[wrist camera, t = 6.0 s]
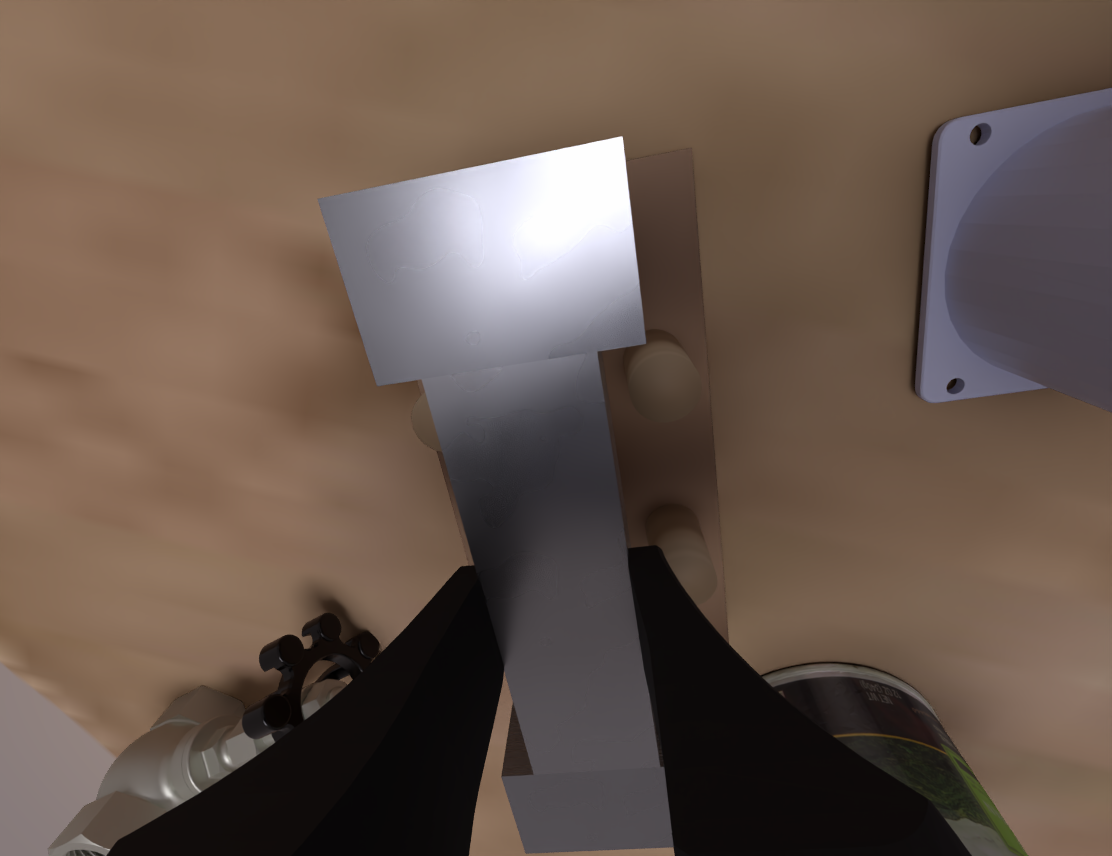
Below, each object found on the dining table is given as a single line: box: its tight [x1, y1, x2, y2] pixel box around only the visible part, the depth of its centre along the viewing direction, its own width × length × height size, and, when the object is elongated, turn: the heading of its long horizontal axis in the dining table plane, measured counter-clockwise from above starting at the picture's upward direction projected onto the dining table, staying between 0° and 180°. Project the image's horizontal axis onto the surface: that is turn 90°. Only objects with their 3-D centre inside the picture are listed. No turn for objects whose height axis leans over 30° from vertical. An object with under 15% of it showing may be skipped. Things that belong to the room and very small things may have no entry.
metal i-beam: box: [318, 137, 674, 853], centre depth 13 cm, size 16×5×4 cm, turn 10°
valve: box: [48, 613, 379, 856], centre depth 21 cm, size 7×7×12 cm
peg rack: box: [411, 148, 729, 644], centre depth 17 cm, size 17×9×4 cm, turn 10°
